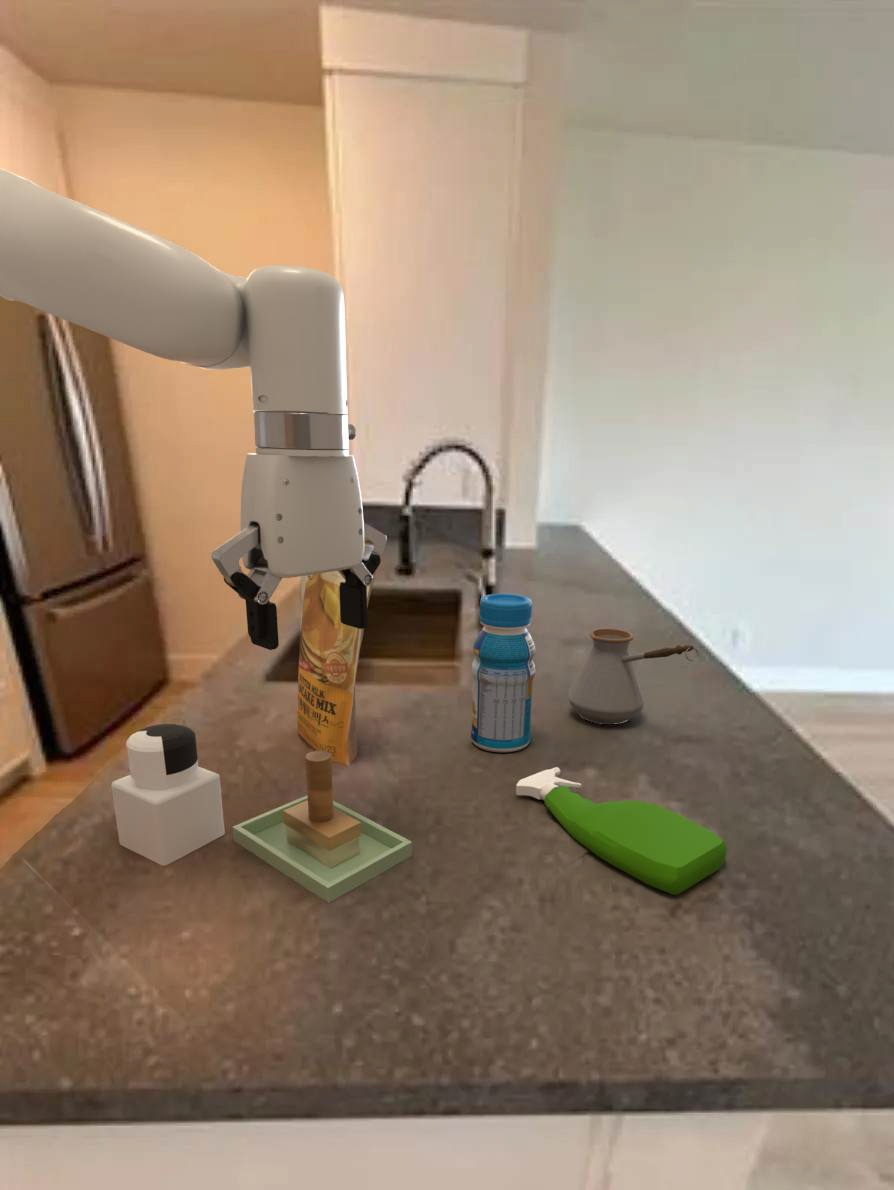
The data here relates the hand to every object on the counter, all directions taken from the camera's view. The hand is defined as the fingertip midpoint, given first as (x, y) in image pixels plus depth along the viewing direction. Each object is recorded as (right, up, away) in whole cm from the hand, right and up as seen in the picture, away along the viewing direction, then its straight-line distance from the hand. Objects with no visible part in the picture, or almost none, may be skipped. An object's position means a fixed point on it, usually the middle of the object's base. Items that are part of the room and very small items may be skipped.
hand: (311, 635), depth 65 cm
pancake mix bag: (-5, -13, +31) cm, 35 cm away
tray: (-1, -21, +7) cm, 22 cm away
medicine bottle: (-16, -21, +8) cm, 27 cm away
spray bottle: (+28, -21, +13) cm, 37 cm away
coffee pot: (+36, -12, +40) cm, 55 cm away
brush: (-1, -21, +7) cm, 22 cm away
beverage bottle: (+17, -13, +34) cm, 40 cm away
